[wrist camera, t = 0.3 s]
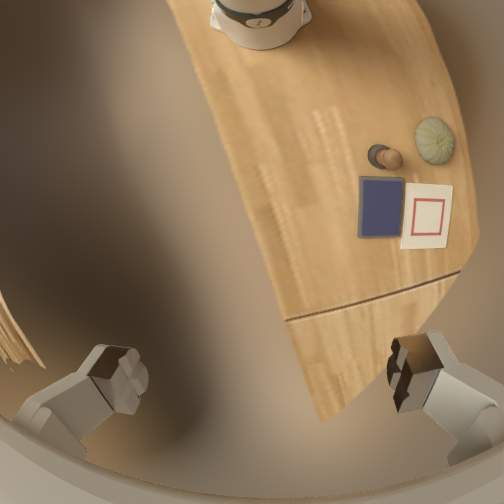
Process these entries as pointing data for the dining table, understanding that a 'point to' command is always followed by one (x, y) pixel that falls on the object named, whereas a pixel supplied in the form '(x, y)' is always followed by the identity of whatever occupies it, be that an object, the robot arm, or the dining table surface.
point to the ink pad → (379, 206)
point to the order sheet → (426, 215)
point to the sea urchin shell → (434, 140)
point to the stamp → (385, 157)
